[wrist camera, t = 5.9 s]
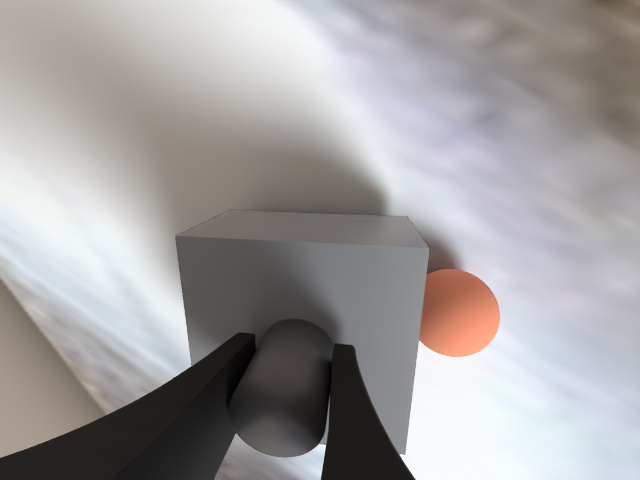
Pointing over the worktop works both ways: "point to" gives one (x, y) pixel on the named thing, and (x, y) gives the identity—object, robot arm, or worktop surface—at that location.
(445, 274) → the ball
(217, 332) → the grey block
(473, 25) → the worktop surface
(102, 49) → the worktop surface
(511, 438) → the worktop surface
